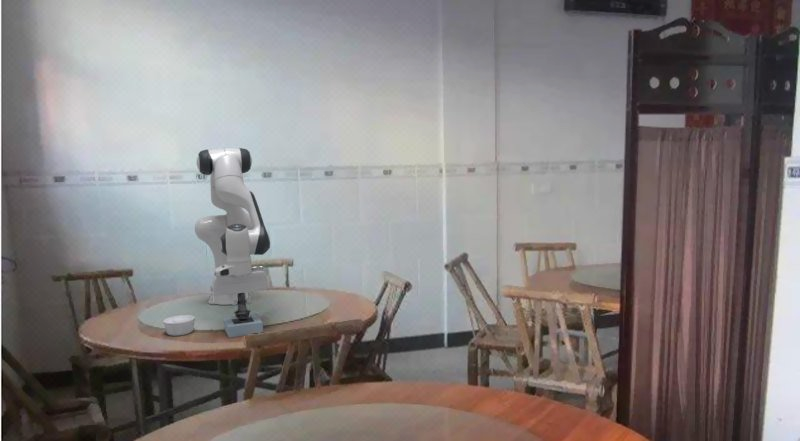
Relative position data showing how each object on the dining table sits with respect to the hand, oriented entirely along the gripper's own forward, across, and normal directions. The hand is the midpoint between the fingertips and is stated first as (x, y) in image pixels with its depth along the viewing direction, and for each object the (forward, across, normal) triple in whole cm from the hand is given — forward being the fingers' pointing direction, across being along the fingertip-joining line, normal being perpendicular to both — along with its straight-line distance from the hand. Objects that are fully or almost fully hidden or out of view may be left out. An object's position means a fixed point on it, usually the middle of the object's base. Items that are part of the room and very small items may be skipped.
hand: (241, 304), depth 234 cm
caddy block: (+10, 0, 0) cm, 10 cm away
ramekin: (+11, +22, -10) cm, 26 cm away
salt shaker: (+7, 0, 0) cm, 7 cm away
